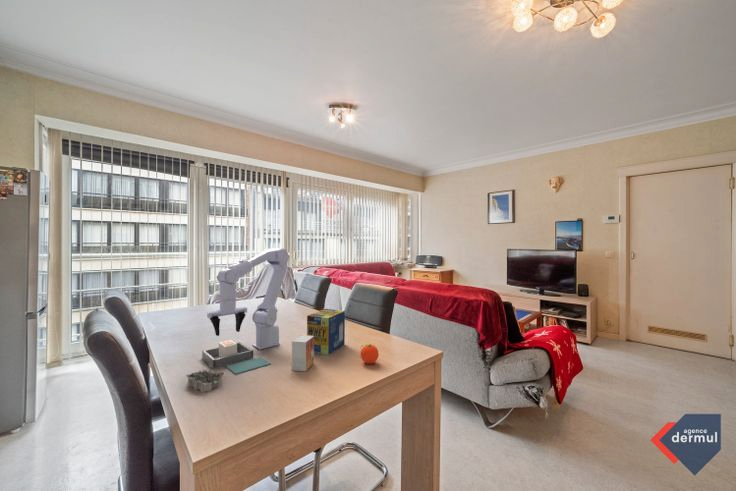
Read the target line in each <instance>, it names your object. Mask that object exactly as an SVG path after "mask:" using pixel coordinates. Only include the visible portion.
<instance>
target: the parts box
mask: <svg viewBox="0 0 736 491" xmlns="http://www.w3.org/2000/svg"><path fill="white" fill-rule="evenodd" d="M236 343H237V342H234V341H233V340H232V339H229V340H225V341H220V342H218V347H219V355H218V358H222V357H226V356H230V355H234V354H238V351H237V344H236Z"/></svg>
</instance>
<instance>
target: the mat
mask: <svg viewBox="0 0 736 491" xmlns="http://www.w3.org/2000/svg"><path fill="white" fill-rule="evenodd" d="M270 365H271V362H270V361H268V360H267V359H265V358H263V357H262V356H258V357H253V358H251V359H247V360H244V361H240V362H236V363H233V364H229V365H225V367H226V368H227V369H228V370H229V371H230V372H232V373H233V375H235V376H236V375H239V374H240V375H241V374H243V373H245V372H249V371H252V370H256V369H259V368H262V367H266V366H270Z"/></svg>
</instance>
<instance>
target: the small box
mask: <svg viewBox="0 0 736 491" xmlns="http://www.w3.org/2000/svg"><path fill="white" fill-rule="evenodd" d="M314 364H315V353H314V336H307V334H305V335H302V334H300V336H298V337H297V338H295V339H294V340H292V341H291V370H292V371H295V372H296V371H298V372H307V371H308V369H310V368H311V367H312V366H313V365H314Z"/></svg>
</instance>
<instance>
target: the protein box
mask: <svg viewBox="0 0 736 491" xmlns="http://www.w3.org/2000/svg"><path fill="white" fill-rule="evenodd" d="M345 313H346V310H341V309H340V310H339V309H332V308H324V309H321V310H319V311H316V312H313V313H311V314H307V316H306V336H314V355H321V356H327V357H329V356H330V355H332V354H333V353H334V352H335V351H337V350H339V349H340V348H341V347H343V346H345V344H346V343H345V338H346V337H345V336H346V335H345V332H346V331H345V328H346V319H345V317H346V314H345Z"/></svg>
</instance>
